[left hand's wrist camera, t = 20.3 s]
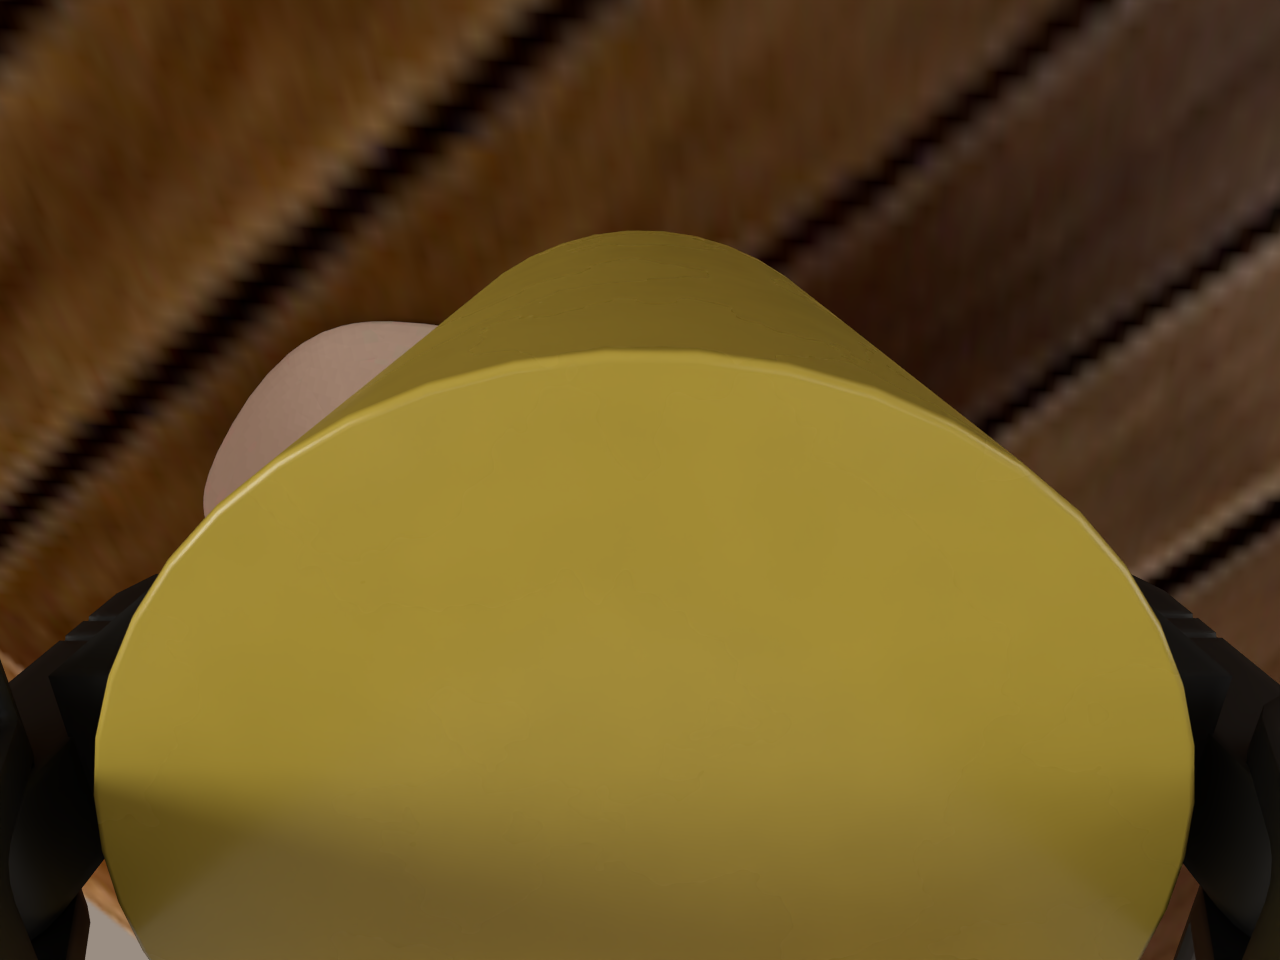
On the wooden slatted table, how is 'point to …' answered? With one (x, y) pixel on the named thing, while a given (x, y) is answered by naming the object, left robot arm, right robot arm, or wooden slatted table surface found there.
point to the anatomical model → (304, 396)
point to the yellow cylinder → (644, 660)
